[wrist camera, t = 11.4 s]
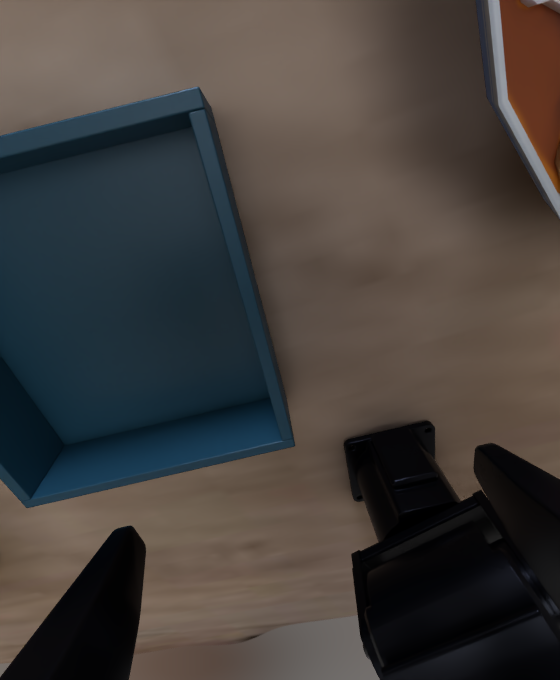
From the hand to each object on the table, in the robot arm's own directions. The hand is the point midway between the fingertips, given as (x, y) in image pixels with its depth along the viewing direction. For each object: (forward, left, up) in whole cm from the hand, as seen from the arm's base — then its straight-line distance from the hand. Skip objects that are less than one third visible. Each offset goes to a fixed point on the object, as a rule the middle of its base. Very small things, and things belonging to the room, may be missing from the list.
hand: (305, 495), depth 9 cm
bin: (+2, +8, -12) cm, 15 cm away
